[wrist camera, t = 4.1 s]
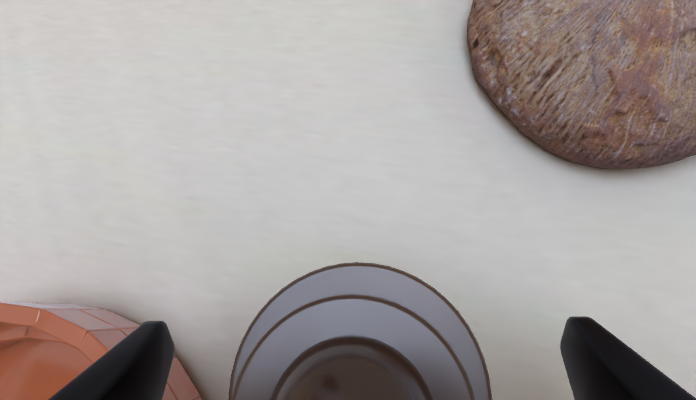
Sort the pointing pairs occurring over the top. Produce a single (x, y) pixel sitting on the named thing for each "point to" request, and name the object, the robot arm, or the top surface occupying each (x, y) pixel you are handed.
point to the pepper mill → (359, 341)
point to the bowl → (64, 349)
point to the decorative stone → (592, 75)
